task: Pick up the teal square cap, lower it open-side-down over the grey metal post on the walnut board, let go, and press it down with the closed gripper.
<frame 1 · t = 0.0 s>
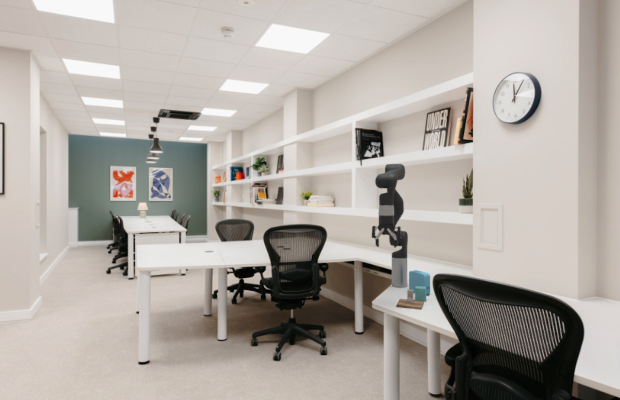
hand: (386, 247, 187), 29 cm above the table, tool pointing down, fingers open, 8 cm apart
post board: (410, 304, 189), on the table
teal cap: (420, 300, 198), on the table
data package: (419, 293, 212), on the table
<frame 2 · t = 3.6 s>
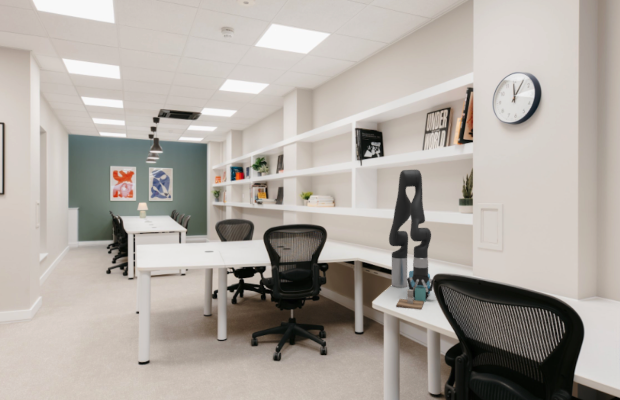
hand: (420, 298, 198), 1 cm above the table, tool pointing down, fingers closed on teal cap, 5 cm apart
teal cap: (420, 300, 198), on the table, touching gripper
everything else where it was.
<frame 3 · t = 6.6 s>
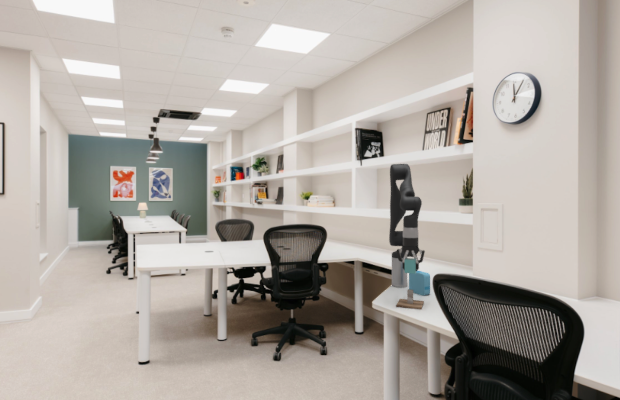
hand: (410, 270, 189), 17 cm above the table, tool pointing down, fingers closed on teal cap, 5 cm apart
teal cap: (410, 272, 189), point 16 cm above the table, touching gripper
everything else where it was.
when the fingers open (4 cm above the table, at t = 9.4 s): teal cap drops 1 cm, resting on post board.
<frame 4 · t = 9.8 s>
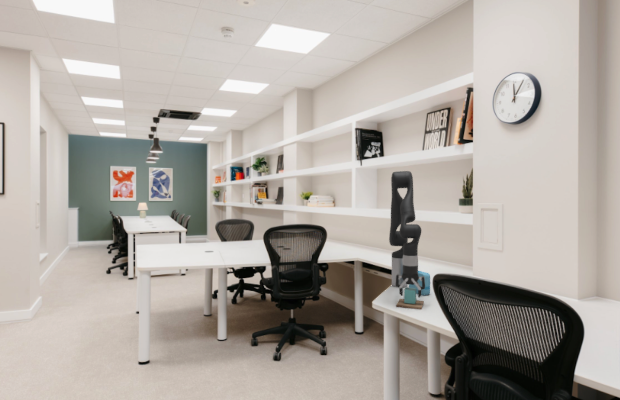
hand: (410, 296, 189), 4 cm above the table, tool pointing down, fingers open, 8 cm apart
teal cap: (410, 302, 189), point 1 cm above the table, touching post board
everything else where it was.
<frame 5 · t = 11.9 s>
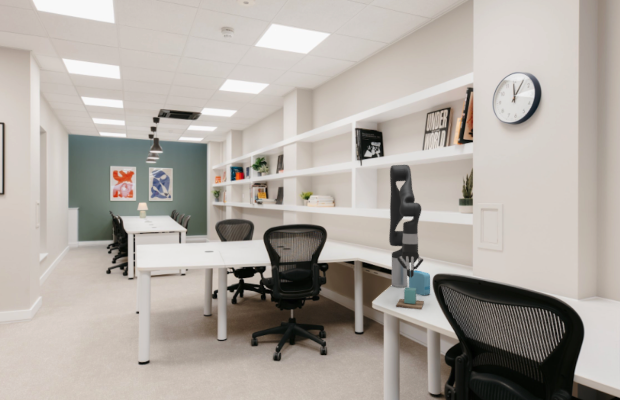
hand: (410, 277, 189), 14 cm above the table, tool pointing down, fingers closed
nothing on the table moved.
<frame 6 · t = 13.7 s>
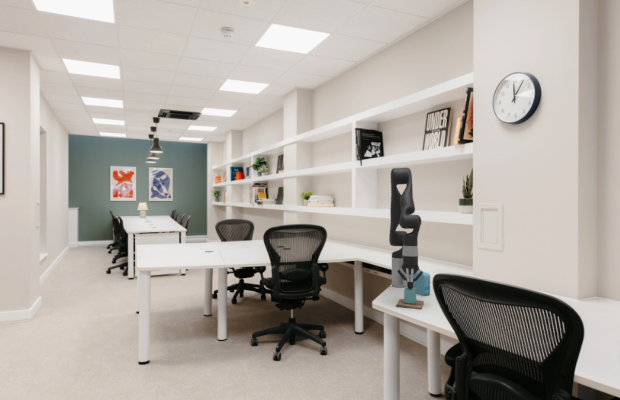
hand: (410, 289, 189), 8 cm above the table, tool pointing down, fingers closed
teal cap: (410, 302, 189), point 1 cm above the table, touching gripper, post board
everything else where it was.
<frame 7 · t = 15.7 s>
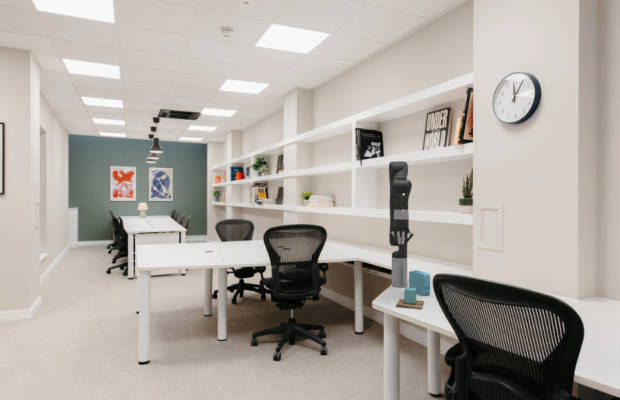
hand: (401, 251, 198), 26 cm above the table, tool pointing down, fingers closed
teal cap: (410, 302, 189), point 1 cm above the table, touching post board
everything else where it was.
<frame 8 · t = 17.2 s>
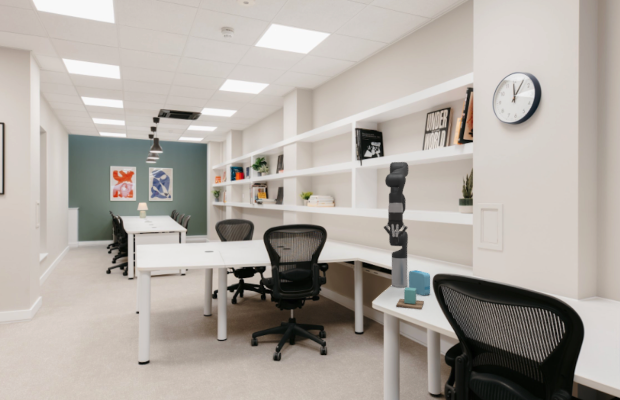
hand: (395, 243, 202), 29 cm above the table, tool pointing down, fingers closed
nothing on the table moved.
at the end: teal cap 0.0 cm from the post board (horizontally); teal cap point 1.4 cm above the table; the gripper is holding nothing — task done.
